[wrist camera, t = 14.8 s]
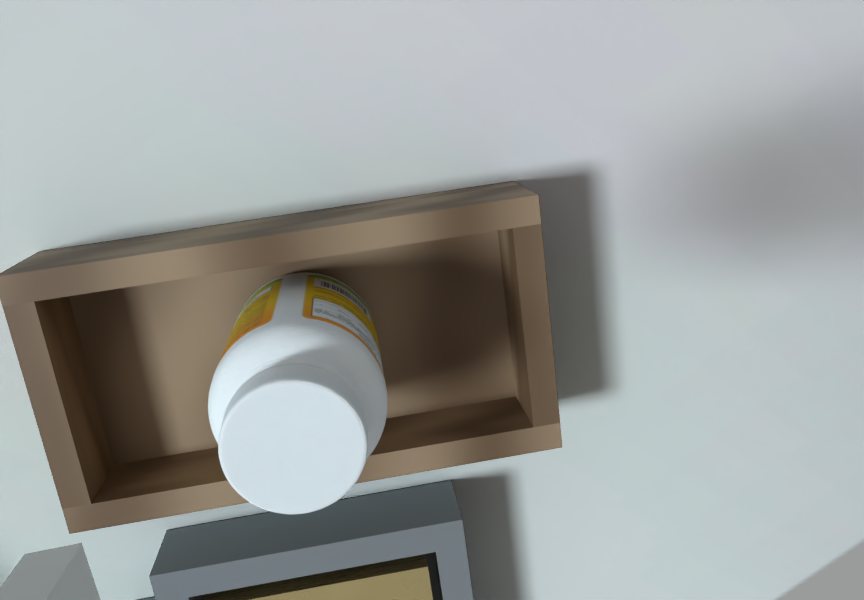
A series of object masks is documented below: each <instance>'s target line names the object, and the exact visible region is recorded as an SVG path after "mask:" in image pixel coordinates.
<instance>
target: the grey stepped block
mask: <svg viewBox="0 0 864 600" xmlns="http://www.w3.org/2000/svg"><path fill="white" fill-rule="evenodd" d="M422 554H426V559H427V564H428V570H429V577H430V583H431V590H432V596H433V600H473V594H472V586H471V579H470V572H469V564H468V557H467V550H466V542H465V535H464V528H463V520H462V517H461V513H460V510H459V506H458V503H457V499H456V496H455V492H454V489H453V485H452V482H451V480H449V481H443V482H437V483H432V484H426V485H420V486H415V487H409V488H403V489H398V490H392V491H387V492H381V493H375V494H370V495H364V496H358V497H353V498H347V499H341V500H338V501H336V502H334V503H333V504H331V505H329V506H327V507H325V508H323V509H320V510H317V511H313V512H310V513H304V514H281V513H275V512H268V513H262V514H256V515H251V516H245V517H240V518H234V519H228V520H223V521H217V522H211V523H206V524H200V525H194V526H189V527H183V528H177V529H172V530H167V531H166V534H165V536H164V539H163V542H162V544H161V547H160V550H159V552H158V555H157V558H156V560H155V563H154V565H153V568H152V571H151V573H150V576H149V577H150V581H151V584H152V588H153V592H154V596H155V597H152V598H146V599H141V600H202V599H203V595H204V594H210V593H215V592H221V591H226V590H232V589H237V588H243V587H248V586H253V585H259V584H264V583H270V582H275V581H281V580H286V579H292V578H297V577H303V576H308V575H313V574H319V573H324V572H330V571H335V570H341V569H346V568H352V567H357V566H362V565H368V564H373V563H379V562H384V561H390V560H395V559H401V558H406V557H411V556H417V555H422Z"/></svg>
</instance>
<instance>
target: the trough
mask: <svg viewBox="0 0 864 600" xmlns="http://www.w3.org/2000/svg"><path fill="white" fill-rule="evenodd" d="M304 272H309V273H318V274H323V275H326V276H330V277H332V278H335V279H337V280H339V281H341V282H343V283H344V284H346V285H347V286H349V287H350V288H351V289H353V290H354V291H355V292H356V293H357V294H358V295H359V296H360V297H361V299H362V300H363V301H364V303H365V304H366V306H367V307H368V309H369V311H370V312H371V315H372V317H373V320H374V323H375V327H376V331H377V337H378V343H379V349H380V355H381V360H382V367H383V373H384V378H385V383H386V389H387V417H386V422H385V426H384V429H383V432H382V435H381V438H380V440H379V442H378V444H377V446H376V447H375V449H374V450H373V452H372V453H371V454H370V456H369V457H368V458H367V459H366V463H365V466H364V469H363V471H362V473H361V475H360V477H359V479H358V480H357V482H356V483H361V482H367V481H373V480H379V479H384V478H390V477H396V476H401V475H407V474H413V473H418V472H424V471H430V470H435V469H441V468H447V467H453V466H458V465H464V464H470V463H475V462H481V461H487V460H492V459H498V458H504V457H509V456H515V455H521V454H527V453H532V452H538V451H544V450H549V449H555V448H561V447H562V439H561V429H560V418H559V407H558V397H557V386H556V376H555V365H554V354H553V344H552V333H551V323H550V312H549V301H548V291H547V280H546V270H545V259H544V248H543V238H542V227H541V217H540V206H539V195H538V194H536V193H534V192H532V191H530V190H529V189H527V188H525V187H523V186H521V185H520V184H518V183H516V182H514V181H510V182H504V183H497V184H490V185H483V186H477V187H470V188H463V189H457V190H450V191H443V192H436V193H430V194H423V195H416V196H410V197H403V198H396V199H389V200H383V201H376V202H369V203H362V204H356V205H349V206H342V207H336V208H329V209H322V210H315V211H309V212H302V213H295V214H289V215H282V216H275V217H268V218H262V219H255V220H248V221H242V222H235V223H228V224H221V225H215V226H208V227H201V228H194V229H188V230H181V231H174V232H168V233H161V234H154V235H147V236H141V237H134V238H127V239H121V240H114V241H107V242H100V243H94V244H87V245H80V246H73V247H67V248H60V249H53V250H47V251H40V252H37V253H35V254H34V255H32V256H30V257H28V258H27V259H25V260H23V261H21V262H19V263H18V264H16V265H14V266H12V267H11V268H9V269H7V270H5V271H4V272H2V273H0V299H1V303H2V306H3V309H4V313H5V316H6V320H7V323H8V326H9V330H10V333H11V337H12V340H13V343H14V347H15V350H16V354H17V357H18V360H19V364H20V367H21V371H22V374H23V377H24V381H25V384H26V388H27V391H28V394H29V398H30V401H31V405H32V408H33V411H34V415H35V418H36V421H37V425H38V428H39V432H40V435H41V438H42V442H43V445H44V449H45V452H46V455H47V459H48V462H49V466H50V469H51V472H52V476H53V479H54V483H55V486H56V489H57V493H58V496H59V500H60V503H61V506H62V510H63V513H64V517H65V520H66V523H67V527H68V530H69V534H71V533H77V532H82V531H88V530H94V529H99V528H105V527H111V526H117V525H122V524H128V523H134V522H139V521H145V520H151V519H156V518H162V517H168V516H173V515H179V514H185V513H191V512H196V511H202V510H208V509H213V508H219V507H225V506H230V505H236V504H242V503H248V502H249V501H247V500H246V499H244V498H243V497H242V496H241V495H239V494H238V493H237V492H236V491H235V489H234V488H233V487H232V486H231V485H230V483H229V481H228V480H227V478H226V477H225V474H224V472H223V470H222V467H221V464H220V460H219V454H218V443H217V441H216V439H215V437H214V435H213V432H212V429H211V426H210V421H209V415H208V397H209V390H210V386H211V382H212V379H213V375H214V373H215V370H216V368H217V365H218V363H219V361H220V358H221V356H222V354H223V351H224V349H225V347H226V344H227V342H228V340H229V337H230V335H231V332H232V330H233V327H234V325H235V322H236V320H237V318H238V315H239V313H240V312H241V310H242V308H243V306H244V305H245V303H246V302H247V301H248V299H249V298H250V297H251V296H252V295H253V294H254V293H255V292H256V291H257V290H258V289H259V288H261V287H262V286H264V285H265V284H267V283H268V282H270V281H272V280H274V279H276V278H278V277H281V276H284V275H288V274H293V273H304ZM356 483H355V484H356Z"/></svg>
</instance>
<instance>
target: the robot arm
mask: <svg viewBox="0 0 864 600" xmlns="http://www.w3.org/2000/svg"><path fill="white" fill-rule="evenodd" d="M0 600H100V597H99V594H98V591H97V588H96V585H95V582H94V579H93V576H92V573H91V570H90V567H89V564H88V561H87V558H86V555H85V552H84V549H83V546H82V543H79V544H74V545H69V546H64V547H59V548H54V549H48V550H43V551H38V552H33V553H28V554H25V555H24V556H23V557H22V559H21V560H20V561H19V563H18V564H17V565H16V567H15V568H14V570H13V571H12V572H11V574H10V575H9V576H8V578H7V579H6V581H5V582H4V583H3V585H2V586H1V587H0Z"/></svg>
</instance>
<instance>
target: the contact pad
mask: <svg viewBox="0 0 864 600" xmlns="http://www.w3.org/2000/svg"><path fill="white" fill-rule="evenodd" d="M202 600H433V596H432V590H431V583H430V577H429V570H428V564H427V559H426V554H422V555H417V556H411V557H406V558H401V559H395V560H390V561H384V562H379V563H373V564H368V565H362V566H357V567H352V568H346V569H341V570H335V571H330V572H324V573H319V574H313V575H308V576H303V577H297V578H292V579H286V580H281V581H275V582H270V583H264V584H259V585H253V586H248V587H243V588H237V589H232V590H226V591H221V592H215V593H210V594H204V595H203V599H202Z"/></svg>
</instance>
